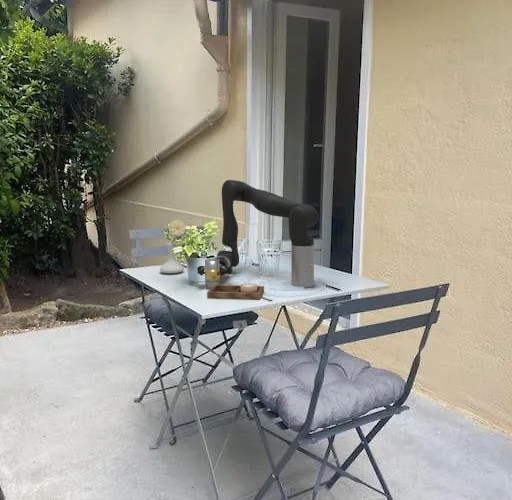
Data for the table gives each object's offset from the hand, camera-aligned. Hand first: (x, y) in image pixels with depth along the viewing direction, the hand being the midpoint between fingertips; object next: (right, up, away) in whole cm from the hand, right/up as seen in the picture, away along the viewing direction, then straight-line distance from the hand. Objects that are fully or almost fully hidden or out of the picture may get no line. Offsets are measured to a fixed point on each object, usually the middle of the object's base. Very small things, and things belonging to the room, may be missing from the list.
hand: (211, 273), depth 220 cm
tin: (0, -7, +3) cm, 7 cm away
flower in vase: (-21, -1, +36) cm, 42 cm away
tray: (+11, -9, -10) cm, 17 cm away
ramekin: (+15, -8, -11) cm, 20 cm away
